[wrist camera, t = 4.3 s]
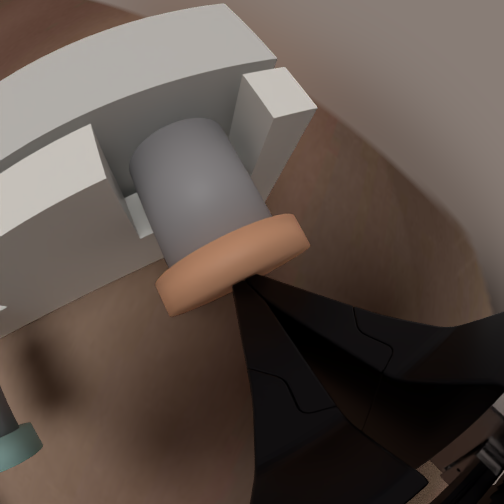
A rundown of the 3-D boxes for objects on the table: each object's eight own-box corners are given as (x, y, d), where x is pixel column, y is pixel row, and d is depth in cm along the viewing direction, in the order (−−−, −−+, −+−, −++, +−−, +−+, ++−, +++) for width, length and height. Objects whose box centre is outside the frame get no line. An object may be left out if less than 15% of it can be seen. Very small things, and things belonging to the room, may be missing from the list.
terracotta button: (284, 265, 12) (336, 227, 8) (175, 318, 11) (160, 312, 6) (230, 164, 13) (248, 88, 8) (127, 206, 12) (95, 140, 7)
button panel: (256, 216, 17) (317, 107, 8) (-18, 347, 12) (-124, 343, 3) (207, 126, 18) (224, 3, 9) (-38, 251, 13) (-127, 203, 4)
